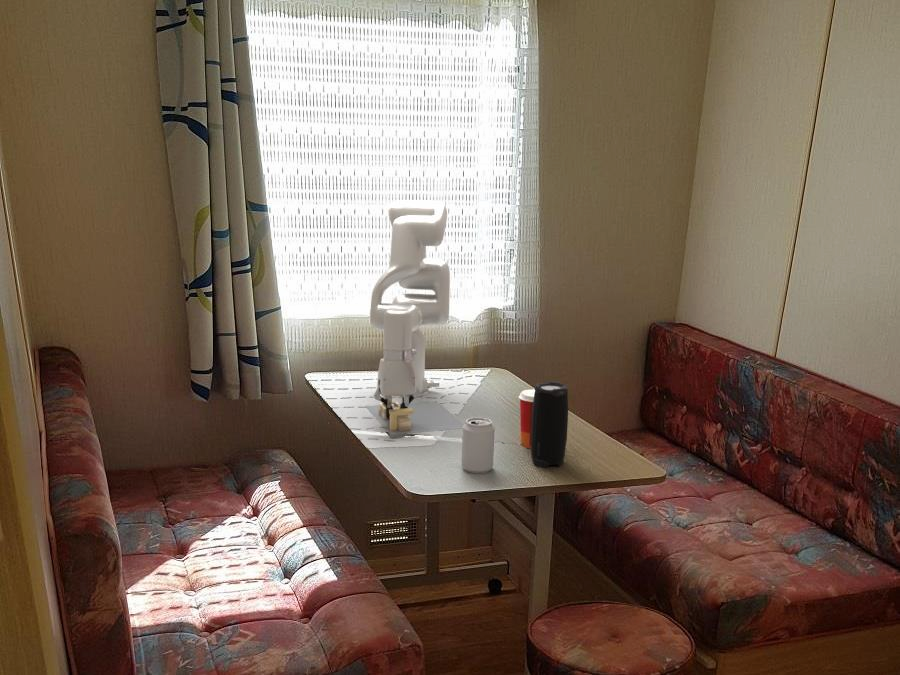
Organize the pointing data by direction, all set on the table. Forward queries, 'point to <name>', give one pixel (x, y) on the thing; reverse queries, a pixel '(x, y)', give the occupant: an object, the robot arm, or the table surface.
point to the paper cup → (526, 416)
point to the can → (478, 445)
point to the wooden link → (402, 420)
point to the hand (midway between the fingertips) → (396, 419)
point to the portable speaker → (549, 424)
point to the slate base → (418, 418)
